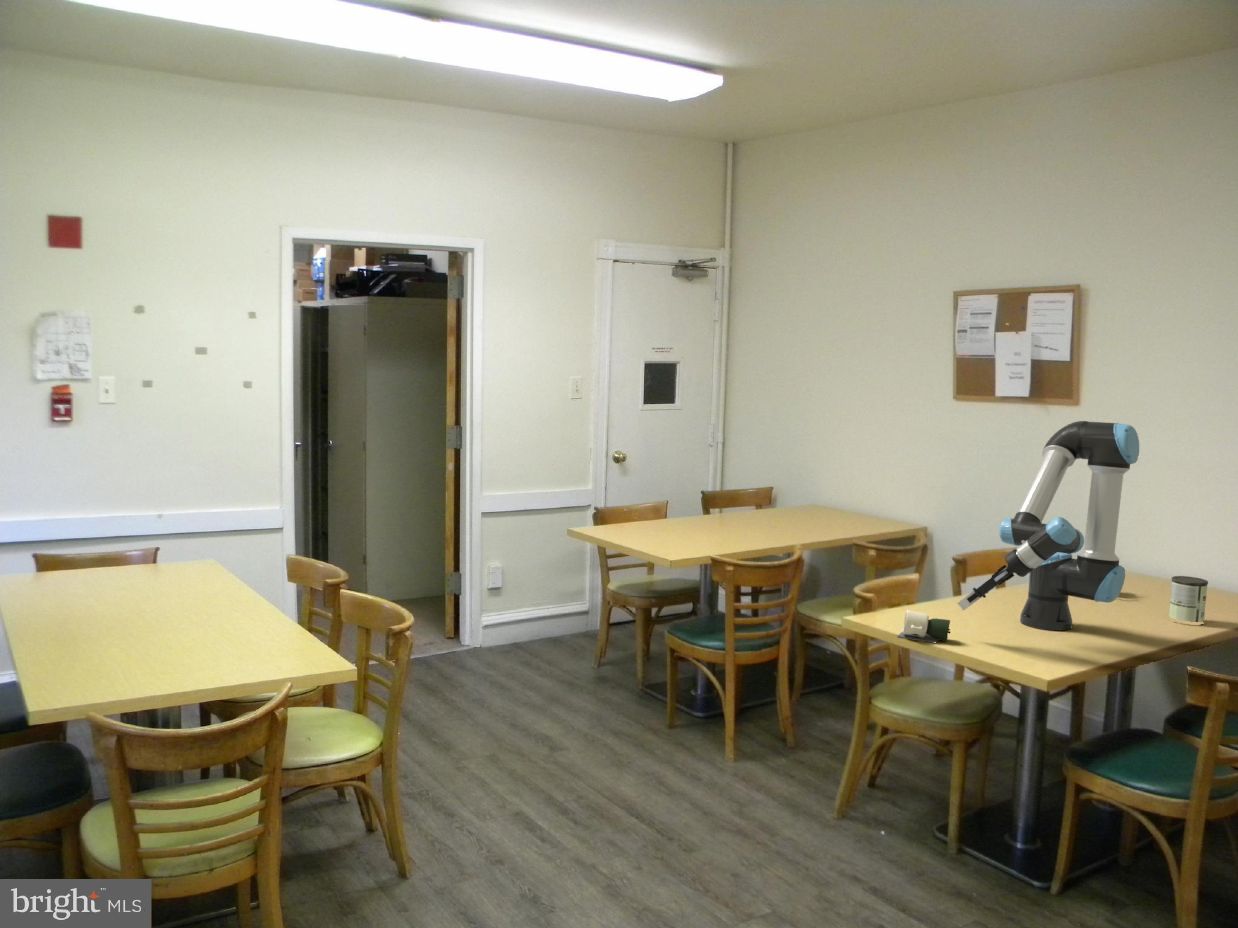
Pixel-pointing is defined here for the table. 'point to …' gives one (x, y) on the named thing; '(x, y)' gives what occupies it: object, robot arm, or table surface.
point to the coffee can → (1188, 598)
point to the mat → (926, 638)
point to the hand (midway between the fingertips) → (961, 606)
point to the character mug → (925, 626)
